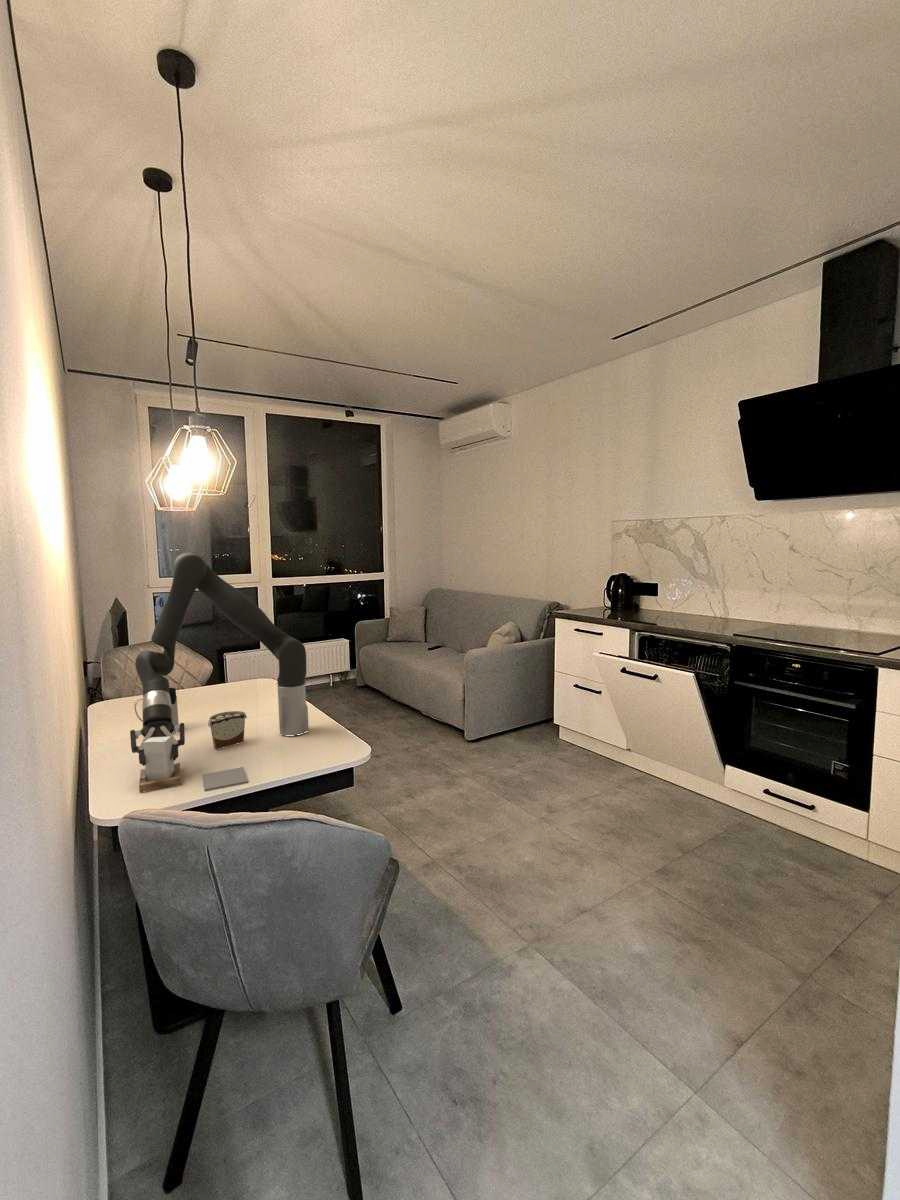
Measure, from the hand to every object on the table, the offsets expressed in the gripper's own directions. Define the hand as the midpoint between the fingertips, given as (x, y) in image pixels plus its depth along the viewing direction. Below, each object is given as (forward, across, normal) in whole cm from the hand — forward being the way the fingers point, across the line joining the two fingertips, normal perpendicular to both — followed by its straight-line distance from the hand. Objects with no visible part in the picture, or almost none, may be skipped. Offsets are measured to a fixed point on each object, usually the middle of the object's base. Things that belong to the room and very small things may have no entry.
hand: (159, 761), depth 153 cm
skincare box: (+3, 0, +6) cm, 6 cm away
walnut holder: (+3, 0, +5) cm, 6 cm away
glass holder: (-28, -1, +37) cm, 46 cm away
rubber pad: (+9, +16, 0) cm, 18 cm away
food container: (-12, +19, +21) cm, 31 cm away
